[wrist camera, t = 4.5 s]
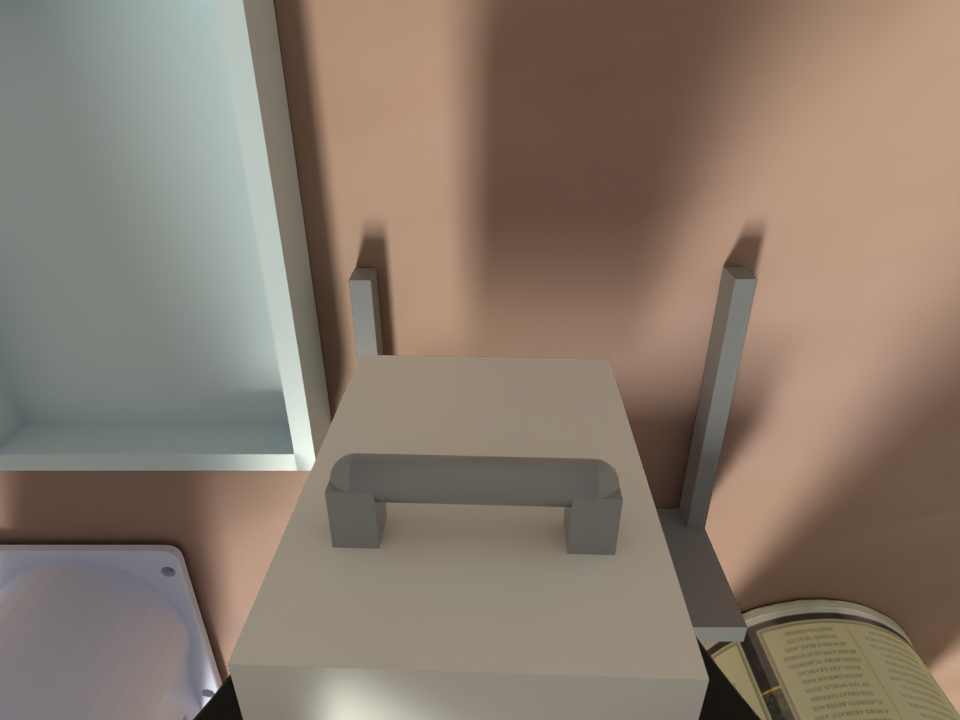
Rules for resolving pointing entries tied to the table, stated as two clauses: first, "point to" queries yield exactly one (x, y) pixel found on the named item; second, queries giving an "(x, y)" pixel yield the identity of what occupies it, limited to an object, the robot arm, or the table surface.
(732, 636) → the dock
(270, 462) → the tray
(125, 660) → the robot arm
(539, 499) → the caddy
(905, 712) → the coffee can
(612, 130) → the table surface
